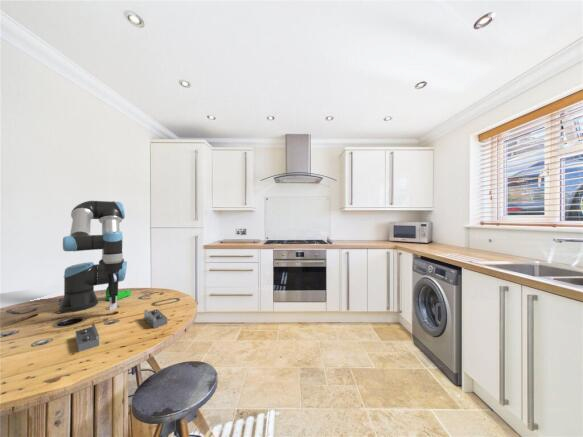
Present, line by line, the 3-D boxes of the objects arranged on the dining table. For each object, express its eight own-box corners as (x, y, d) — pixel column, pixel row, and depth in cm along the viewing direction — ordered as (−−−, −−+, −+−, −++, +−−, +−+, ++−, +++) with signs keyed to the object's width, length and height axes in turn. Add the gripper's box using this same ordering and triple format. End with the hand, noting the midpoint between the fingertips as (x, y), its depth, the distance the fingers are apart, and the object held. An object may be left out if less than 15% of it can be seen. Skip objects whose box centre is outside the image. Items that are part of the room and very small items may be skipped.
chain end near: (75, 338, 88) (75, 328, 88) (94, 333, 92) (93, 323, 92) (78, 353, 79) (78, 341, 79) (99, 346, 83) (99, 335, 83)
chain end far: (144, 318, 105) (144, 310, 105) (157, 315, 110) (157, 306, 110) (153, 328, 96) (153, 319, 96) (167, 324, 100) (167, 315, 100)
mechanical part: (113, 300, 129) (113, 287, 129) (105, 299, 131) (105, 286, 131) (133, 294, 141) (133, 281, 141) (126, 293, 142) (126, 280, 142)
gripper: (101, 261, 113) (101, 308, 112) (105, 265, 104) (105, 315, 104) (119, 259, 118) (119, 303, 118) (125, 262, 109) (125, 310, 109)
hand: (113, 309), depth 111 cm, fingers closed
